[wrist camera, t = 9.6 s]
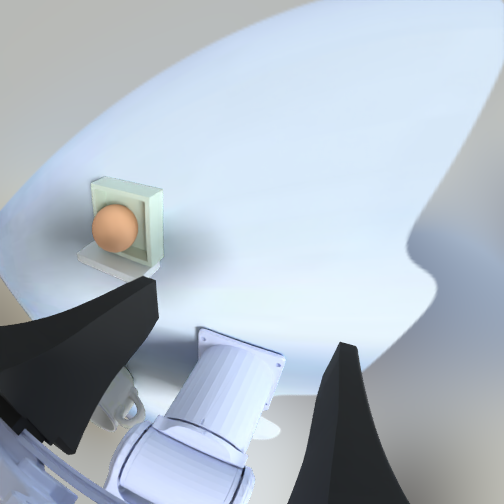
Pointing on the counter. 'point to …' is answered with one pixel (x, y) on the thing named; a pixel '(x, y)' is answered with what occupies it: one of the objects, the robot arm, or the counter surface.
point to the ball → (115, 228)
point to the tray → (145, 210)
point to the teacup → (118, 404)
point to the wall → (114, 263)
